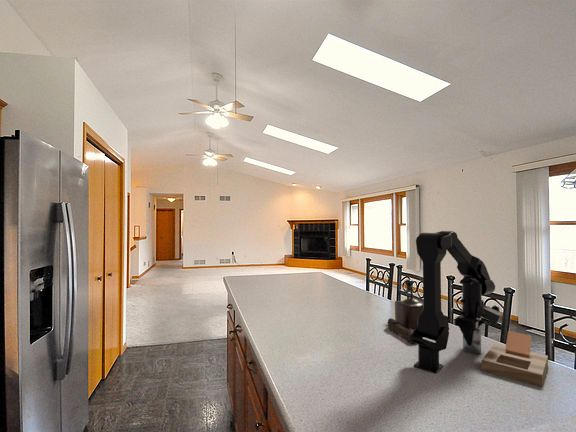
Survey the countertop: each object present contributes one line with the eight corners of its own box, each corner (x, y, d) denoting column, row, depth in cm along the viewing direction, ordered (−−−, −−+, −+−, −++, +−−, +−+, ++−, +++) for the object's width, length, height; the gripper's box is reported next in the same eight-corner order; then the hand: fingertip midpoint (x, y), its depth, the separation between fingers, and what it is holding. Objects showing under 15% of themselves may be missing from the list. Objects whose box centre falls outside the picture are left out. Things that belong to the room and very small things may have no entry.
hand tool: (420, 344, 116) (420, 331, 116) (409, 345, 115) (410, 331, 115) (394, 328, 135) (394, 317, 135) (385, 328, 134) (385, 317, 134)
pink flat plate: (529, 356, 98) (529, 354, 97) (505, 351, 102) (505, 349, 101) (531, 337, 102) (531, 335, 101) (508, 333, 106) (508, 331, 105)
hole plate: (542, 386, 86) (542, 375, 86) (481, 370, 95) (481, 359, 95) (548, 365, 99) (547, 355, 99) (494, 353, 108) (494, 344, 108)
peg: (479, 355, 106) (479, 330, 107) (460, 350, 110) (460, 326, 110) (483, 350, 110) (483, 326, 111) (465, 346, 114) (465, 323, 114)
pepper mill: (431, 328, 134) (431, 284, 135) (407, 329, 132) (407, 285, 133) (410, 317, 150) (410, 278, 150) (388, 318, 147) (388, 278, 148)
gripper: (493, 305, 98) (493, 357, 98) (504, 296, 112) (505, 342, 112) (453, 299, 106) (453, 348, 105) (469, 291, 120) (469, 334, 119)
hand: (471, 343), depth 110 cm, fingers closed on peg, 5 cm apart
